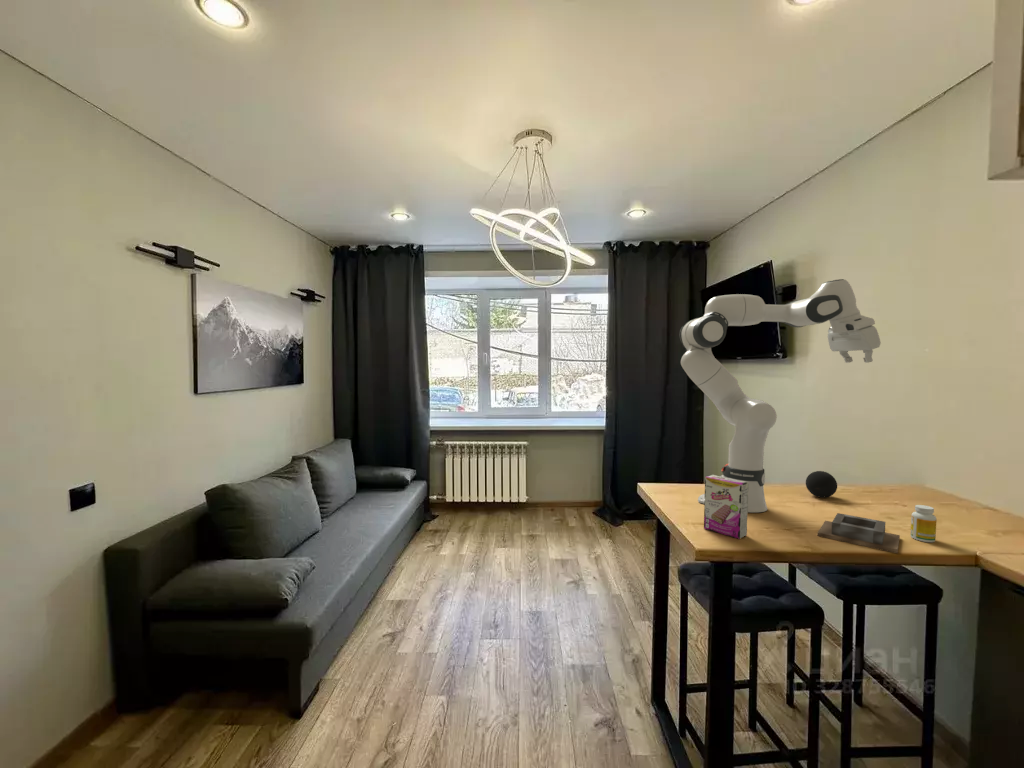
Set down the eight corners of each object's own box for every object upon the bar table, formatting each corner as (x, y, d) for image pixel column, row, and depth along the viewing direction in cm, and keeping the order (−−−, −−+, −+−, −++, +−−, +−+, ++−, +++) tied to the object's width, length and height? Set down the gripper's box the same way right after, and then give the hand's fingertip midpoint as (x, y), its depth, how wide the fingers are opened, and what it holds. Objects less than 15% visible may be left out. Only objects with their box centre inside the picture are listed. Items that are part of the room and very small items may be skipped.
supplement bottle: (905, 536, 133) (906, 504, 132) (922, 535, 133) (923, 503, 132) (923, 543, 127) (924, 509, 127) (940, 542, 127) (942, 509, 127)
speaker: (843, 501, 166) (844, 474, 166) (815, 500, 167) (816, 474, 166) (825, 493, 176) (826, 468, 176) (799, 493, 177) (800, 468, 176)
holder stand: (817, 535, 132) (817, 520, 132) (825, 523, 143) (825, 509, 142) (897, 553, 120) (898, 536, 120) (899, 538, 130) (900, 523, 130)
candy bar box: (702, 529, 138) (703, 476, 137) (710, 525, 141) (712, 474, 140) (740, 540, 129) (741, 484, 128) (747, 536, 132) (749, 481, 131)
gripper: (818, 329, 166) (830, 364, 166) (858, 324, 145) (871, 365, 146) (835, 324, 165) (847, 359, 166) (878, 318, 145) (890, 358, 145)
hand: (858, 362), depth 155 cm, fingers open, 8 cm apart
